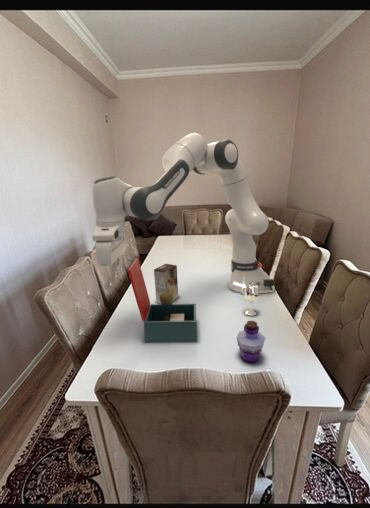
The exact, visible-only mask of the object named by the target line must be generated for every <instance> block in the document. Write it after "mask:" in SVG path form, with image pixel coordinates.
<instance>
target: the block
mask: <svg viewBox="0 0 370 508" xmlns="http://www.w3.org/2000/svg"><path fill="white" fill-rule="evenodd" d="M170 321H185V318H184V314H171V316H170Z"/></svg>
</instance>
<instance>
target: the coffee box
mask: <svg viewBox="0 0 370 508" xmlns="http://www.w3.org/2000/svg"><path fill="white" fill-rule="evenodd" d="M153 276H154V277H153V278H154V288H155V301H156V303H157V304H161V302H160V295H161V294H162V293H165V292H168V293H171V294H172V295H173V301H172V302H174V301H175V300H176V299H178V298H179V284H178V266H177V265H176V264H171V263H164V264H162V265H160V266H158V267H156V268H154V269H153Z"/></svg>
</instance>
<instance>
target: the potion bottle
mask: <svg viewBox="0 0 370 508" xmlns="http://www.w3.org/2000/svg"><path fill="white" fill-rule="evenodd" d="M266 339H267V338H266V337H265V336H264V335H263V334H262V333H261V332H260V326H259V325H258V322H257V321H255V320H247V321H246V323H245V324H244V326H243V330H240V331H238V333H237V336H236V343H237V346H238V347H239V354H240V358H241V359H242V361H243V362H246V363H250V364H253V363H254V364H255V363H257V362H259V359H260V353H262V351H263V347H264V345H265V341H266Z"/></svg>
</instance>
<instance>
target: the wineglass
mask: <svg viewBox="0 0 370 508" xmlns="http://www.w3.org/2000/svg"><path fill="white" fill-rule="evenodd" d="M243 296H244V299H245V300H247V301H249V309H246V310H245V311H244V314H245V315H247V316H251V317H253V316H256V315H257V312H256V310H253V309H252V305H253V302H255V301H257V300H258V299H259V297H260V293H259V288H258V285H256V284H253V283H249V284H247V285H246V287H245V290H244V294H243Z"/></svg>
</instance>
